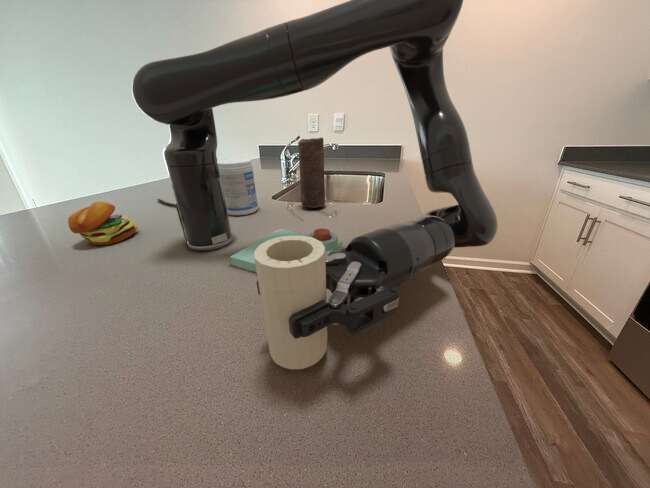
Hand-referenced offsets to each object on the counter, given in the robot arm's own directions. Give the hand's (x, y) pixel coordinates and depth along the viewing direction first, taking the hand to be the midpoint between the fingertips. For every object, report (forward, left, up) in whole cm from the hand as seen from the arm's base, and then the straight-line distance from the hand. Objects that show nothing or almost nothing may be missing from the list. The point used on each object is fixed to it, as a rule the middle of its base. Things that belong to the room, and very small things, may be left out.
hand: (273, 306), depth 25 cm
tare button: (-9, +26, -5) cm, 28 cm away
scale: (-14, +21, -8) cm, 26 cm away
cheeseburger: (-58, +10, -8) cm, 59 cm away
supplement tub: (-44, +39, -8) cm, 59 cm away
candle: (-26, +51, -8) cm, 58 cm away
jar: (+1, +2, -7) cm, 7 cm away
